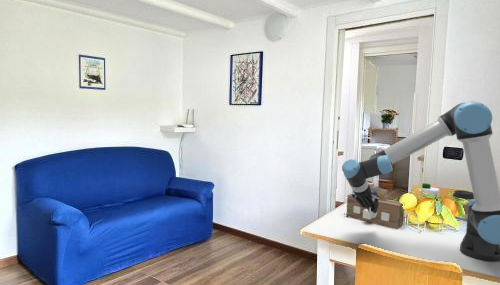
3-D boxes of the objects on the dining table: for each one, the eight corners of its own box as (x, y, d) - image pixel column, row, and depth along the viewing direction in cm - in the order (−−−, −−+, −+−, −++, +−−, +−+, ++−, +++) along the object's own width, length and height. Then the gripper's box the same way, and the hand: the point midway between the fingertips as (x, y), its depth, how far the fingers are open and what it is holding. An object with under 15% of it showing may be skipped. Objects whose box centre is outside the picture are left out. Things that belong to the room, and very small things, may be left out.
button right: (388, 221, 179) (389, 213, 178) (380, 219, 181) (381, 212, 181) (393, 219, 183) (393, 211, 183) (385, 217, 186) (386, 210, 185)
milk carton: (420, 217, 198) (423, 182, 196) (438, 220, 193) (441, 184, 191) (417, 220, 191) (420, 184, 189) (435, 224, 186) (438, 187, 184)
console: (396, 229, 177) (399, 194, 175) (346, 216, 196) (348, 184, 194) (402, 225, 182) (405, 191, 181) (353, 213, 202) (355, 182, 200)
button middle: (369, 219, 181) (370, 212, 181) (362, 217, 184) (363, 210, 184) (375, 217, 185) (375, 209, 185) (367, 215, 188) (368, 208, 188)
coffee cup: (449, 214, 206) (451, 189, 204) (471, 216, 202) (473, 191, 200) (452, 219, 195) (454, 193, 194) (476, 222, 191) (478, 195, 190)
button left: (359, 214, 190) (360, 206, 190) (353, 212, 193) (353, 205, 193) (365, 212, 195) (365, 204, 194) (358, 210, 197) (358, 203, 197)
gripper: (343, 190, 160) (359, 218, 174) (371, 195, 151) (385, 224, 165) (350, 177, 164) (364, 206, 177) (377, 182, 155) (390, 211, 168)
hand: (374, 215), depth 171 cm, fingers closed
